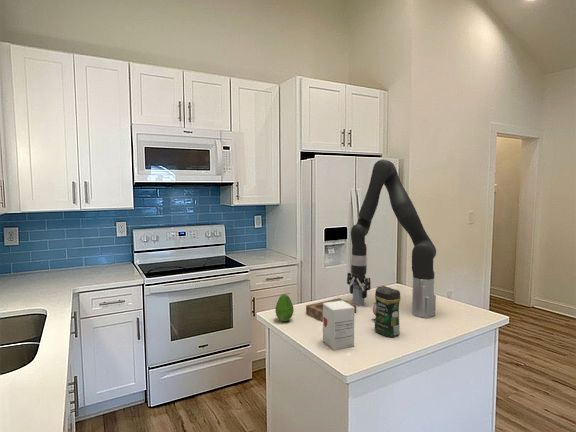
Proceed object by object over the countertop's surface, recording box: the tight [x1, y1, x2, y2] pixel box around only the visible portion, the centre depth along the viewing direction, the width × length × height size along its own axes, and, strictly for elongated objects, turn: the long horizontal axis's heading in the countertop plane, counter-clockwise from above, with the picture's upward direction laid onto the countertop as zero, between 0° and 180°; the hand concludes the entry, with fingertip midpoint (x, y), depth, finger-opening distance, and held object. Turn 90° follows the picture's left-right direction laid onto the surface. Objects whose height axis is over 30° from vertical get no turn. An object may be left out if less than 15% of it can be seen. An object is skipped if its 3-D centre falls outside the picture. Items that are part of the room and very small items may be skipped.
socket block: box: [305, 298, 357, 323], centre depth 173 cm, size 12×20×4 cm, turn 123°
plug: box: [352, 284, 366, 307], centre depth 187 cm, size 4×4×10 cm
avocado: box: [274, 293, 295, 322], centre depth 164 cm, size 8×8×12 cm
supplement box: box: [322, 299, 355, 351], centre depth 140 cm, size 9×9×15 cm
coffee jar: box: [374, 285, 401, 338], centre depth 150 cm, size 10×8×19 cm
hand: (358, 295), depth 187 cm, fingers open, 8 cm apart
